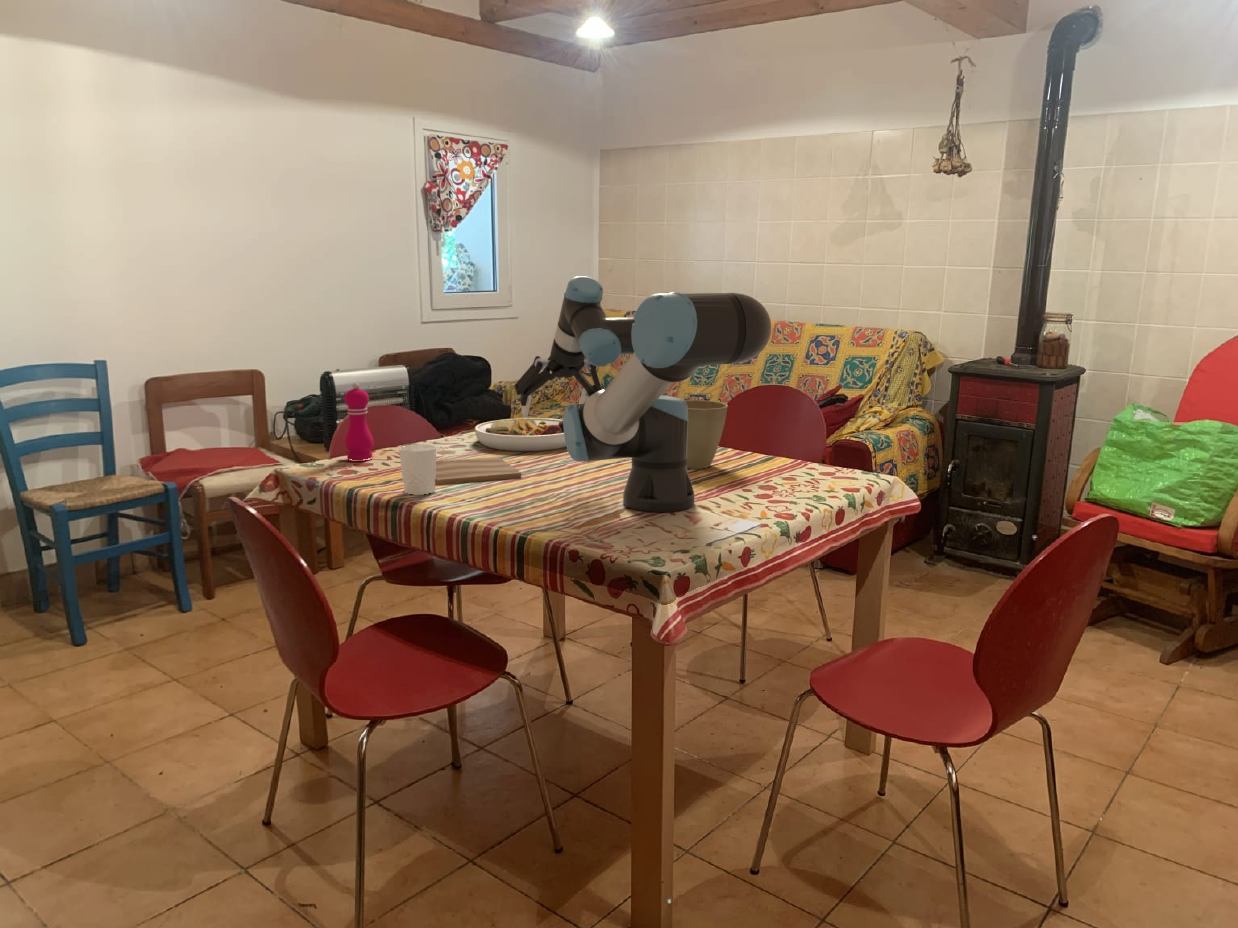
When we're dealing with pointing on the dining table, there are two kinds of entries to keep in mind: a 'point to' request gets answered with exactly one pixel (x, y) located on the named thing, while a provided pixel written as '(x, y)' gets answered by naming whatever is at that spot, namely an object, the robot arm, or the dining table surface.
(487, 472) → the walnut board
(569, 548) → the dining table surface
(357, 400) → the pepper mill
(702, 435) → the plant pot
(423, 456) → the white cup
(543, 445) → the bowl
